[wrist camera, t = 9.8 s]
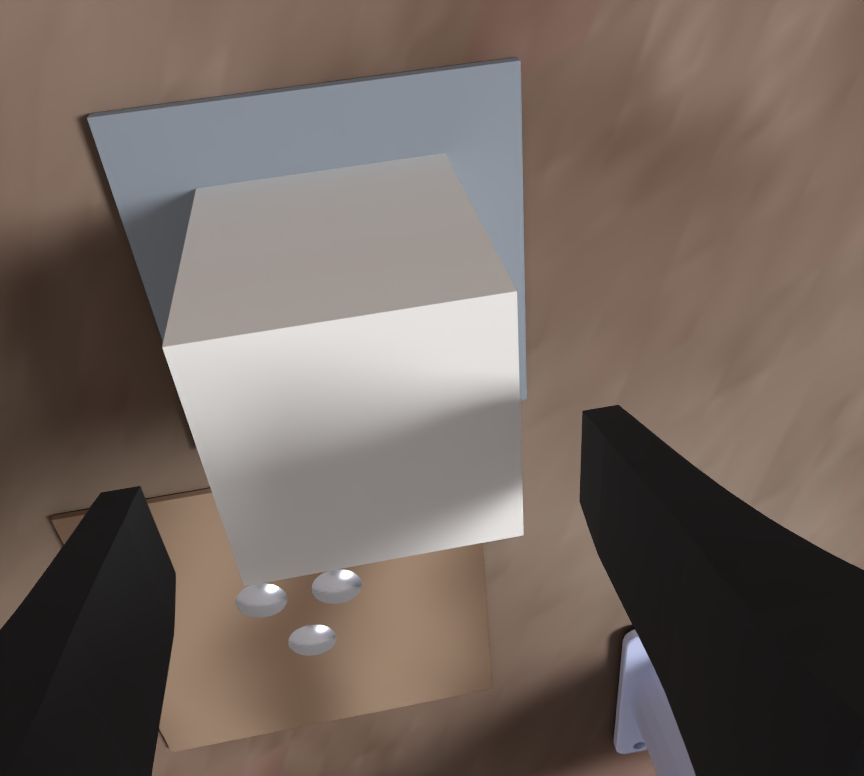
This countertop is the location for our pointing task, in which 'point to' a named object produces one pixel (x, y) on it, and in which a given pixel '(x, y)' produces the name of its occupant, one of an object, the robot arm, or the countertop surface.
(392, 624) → the board
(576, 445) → the countertop surface
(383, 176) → the matte white cube
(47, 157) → the countertop surface
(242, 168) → the mat
